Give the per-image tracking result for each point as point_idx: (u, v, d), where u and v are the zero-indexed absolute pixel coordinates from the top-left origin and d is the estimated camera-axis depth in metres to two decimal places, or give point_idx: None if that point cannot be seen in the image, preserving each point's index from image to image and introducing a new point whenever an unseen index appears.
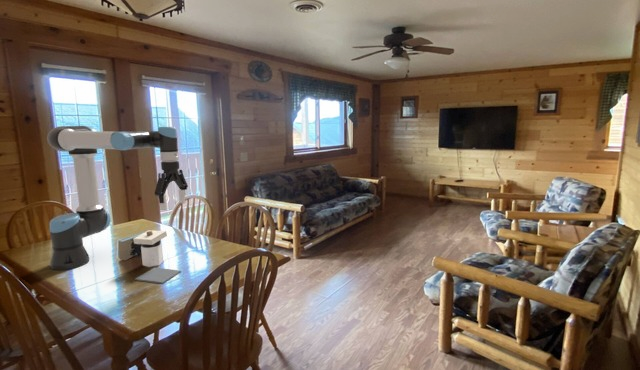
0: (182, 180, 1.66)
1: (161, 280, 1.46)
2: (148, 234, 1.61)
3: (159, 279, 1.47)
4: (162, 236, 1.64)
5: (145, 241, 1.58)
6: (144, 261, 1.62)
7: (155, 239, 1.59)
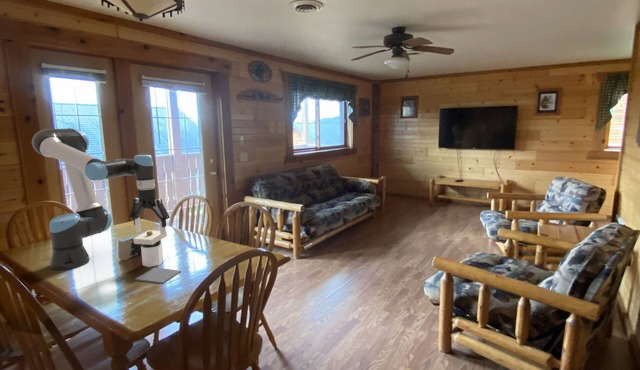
0: None
1: (161, 280, 1.46)
2: (148, 234, 1.61)
3: (159, 279, 1.47)
4: (162, 236, 1.64)
5: (145, 241, 1.58)
6: (144, 261, 1.62)
7: (155, 239, 1.59)
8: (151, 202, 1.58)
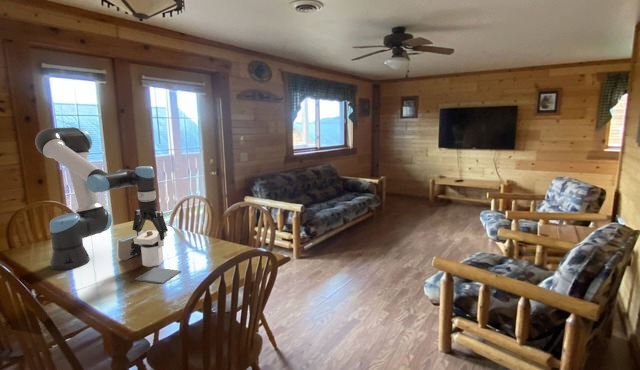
0: None
1: (161, 280, 1.46)
2: (148, 234, 1.61)
3: (159, 279, 1.47)
4: None
5: (145, 241, 1.58)
6: (144, 261, 1.62)
7: (155, 239, 1.59)
8: (152, 213, 1.59)
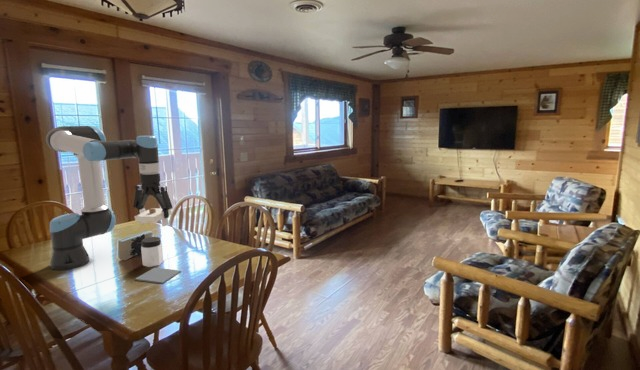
0: None
1: (161, 280, 1.46)
2: (151, 211, 1.45)
3: (159, 279, 1.47)
4: None
5: (147, 218, 1.42)
6: (144, 261, 1.62)
7: (159, 217, 1.43)
8: (155, 188, 1.43)
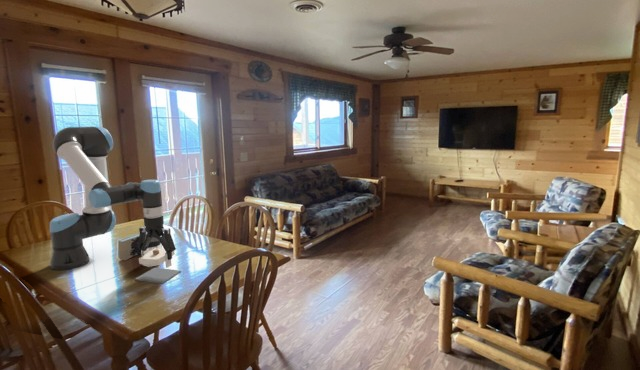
0: None
1: (161, 280, 1.46)
2: (154, 253, 1.49)
3: (159, 279, 1.47)
4: None
5: (151, 261, 1.45)
6: None
7: (162, 259, 1.47)
8: (158, 231, 1.47)
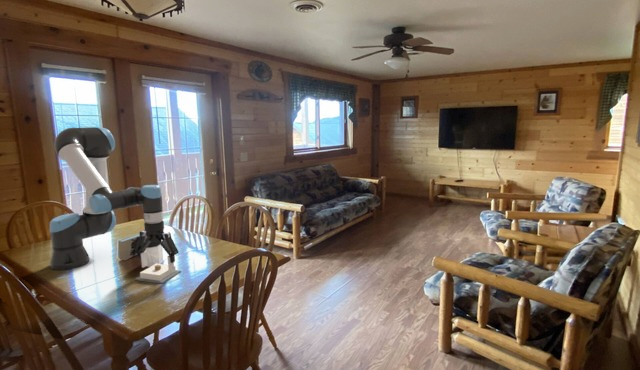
0: None
1: (161, 280, 1.46)
2: (156, 268, 1.50)
3: None
4: (171, 271, 1.53)
5: (152, 276, 1.47)
6: None
7: (163, 275, 1.48)
8: (159, 236, 1.47)
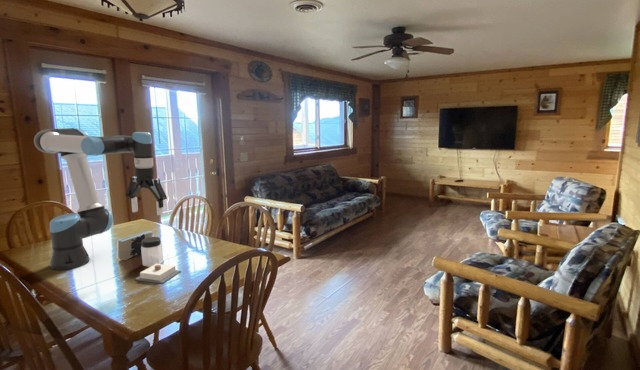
0: None
1: (161, 280, 1.46)
2: (156, 268, 1.50)
3: None
4: (171, 271, 1.53)
5: (152, 276, 1.47)
6: (144, 261, 1.62)
7: (163, 275, 1.48)
8: (148, 181, 1.53)
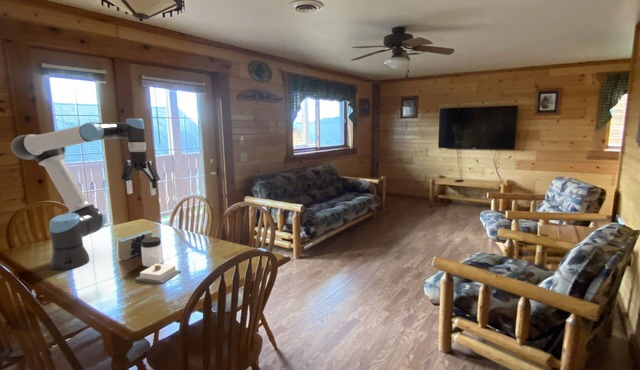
0: None
1: (161, 280, 1.46)
2: (156, 268, 1.50)
3: None
4: (171, 271, 1.53)
5: (152, 276, 1.47)
6: (144, 261, 1.62)
7: (163, 275, 1.48)
8: (142, 164, 1.65)
